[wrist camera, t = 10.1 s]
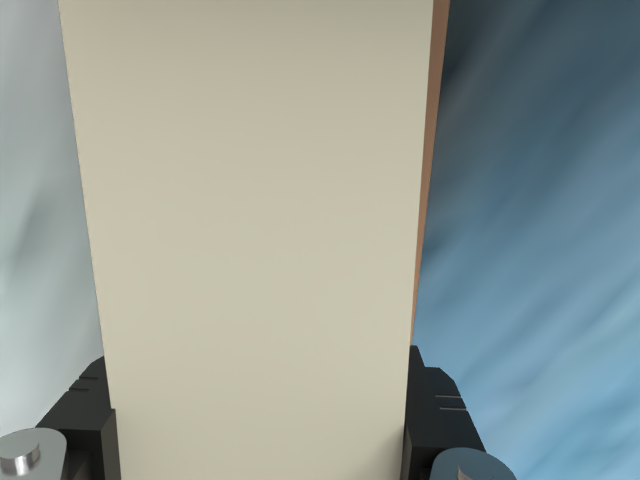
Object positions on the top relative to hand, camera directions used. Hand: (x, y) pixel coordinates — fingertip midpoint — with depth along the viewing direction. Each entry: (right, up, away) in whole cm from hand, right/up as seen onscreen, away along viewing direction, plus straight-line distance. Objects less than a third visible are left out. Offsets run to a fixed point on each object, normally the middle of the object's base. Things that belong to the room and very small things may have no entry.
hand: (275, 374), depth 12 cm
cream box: (0, +3, 0) cm, 3 cm away
